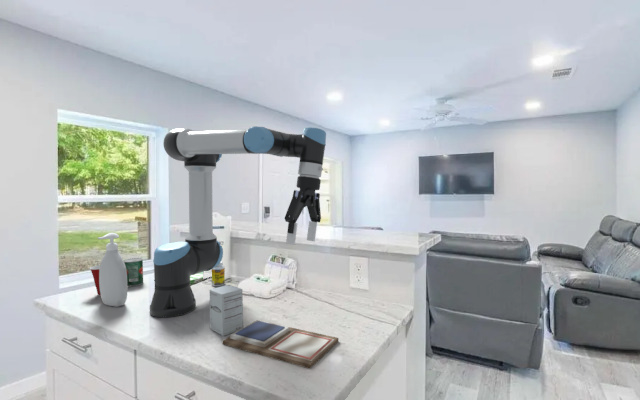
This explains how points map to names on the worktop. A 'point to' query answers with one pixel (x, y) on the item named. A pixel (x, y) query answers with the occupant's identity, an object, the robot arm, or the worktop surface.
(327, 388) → the worktop surface
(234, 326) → the supplement box
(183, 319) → the worktop surface
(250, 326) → the stamping board
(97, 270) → the plastic cup
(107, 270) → the soap bottle
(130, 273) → the canned tomato
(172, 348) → the worktop surface
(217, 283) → the supplement bottle
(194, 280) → the dish towel
